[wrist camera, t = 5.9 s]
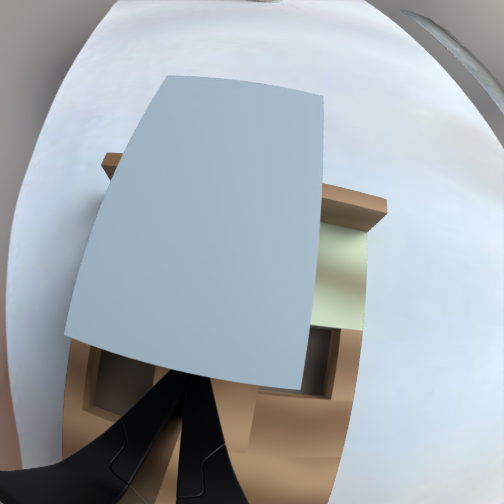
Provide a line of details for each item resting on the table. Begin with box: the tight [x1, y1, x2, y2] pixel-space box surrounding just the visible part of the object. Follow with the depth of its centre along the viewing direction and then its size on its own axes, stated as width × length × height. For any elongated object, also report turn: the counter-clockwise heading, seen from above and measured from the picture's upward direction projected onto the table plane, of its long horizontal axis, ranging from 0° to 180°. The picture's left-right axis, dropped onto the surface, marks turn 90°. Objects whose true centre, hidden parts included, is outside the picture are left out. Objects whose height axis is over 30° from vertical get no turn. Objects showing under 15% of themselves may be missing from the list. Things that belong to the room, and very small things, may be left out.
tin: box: [64, 76, 324, 390], centre depth 11 cm, size 8×5×11 cm, turn 171°
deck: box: [62, 153, 387, 504], centre depth 14 cm, size 24×18×5 cm
